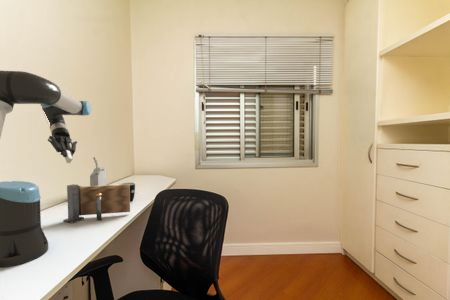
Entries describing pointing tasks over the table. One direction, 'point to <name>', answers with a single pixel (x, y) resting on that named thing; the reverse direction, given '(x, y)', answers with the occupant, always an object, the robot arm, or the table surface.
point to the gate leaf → (104, 199)
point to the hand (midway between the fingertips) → (69, 160)
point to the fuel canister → (98, 176)
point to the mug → (132, 190)
